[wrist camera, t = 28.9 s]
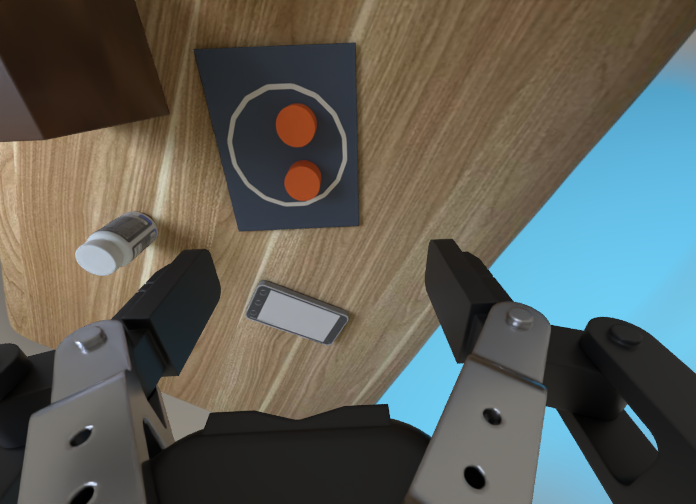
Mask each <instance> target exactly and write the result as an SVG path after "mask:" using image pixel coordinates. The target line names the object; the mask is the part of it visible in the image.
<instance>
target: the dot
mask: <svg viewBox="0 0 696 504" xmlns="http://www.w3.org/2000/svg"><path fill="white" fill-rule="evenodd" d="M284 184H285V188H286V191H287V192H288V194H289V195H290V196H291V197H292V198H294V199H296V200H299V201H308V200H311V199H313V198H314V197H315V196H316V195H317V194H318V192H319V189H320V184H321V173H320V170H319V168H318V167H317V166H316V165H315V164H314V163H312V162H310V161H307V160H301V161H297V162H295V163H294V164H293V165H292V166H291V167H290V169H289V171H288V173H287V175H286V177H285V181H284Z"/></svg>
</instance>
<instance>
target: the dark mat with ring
mask: <svg viewBox="0 0 696 504" xmlns="http://www.w3.org/2000/svg"><path fill="white" fill-rule="evenodd" d="M194 53H195V57H196V61H197V65H198V69H199V73H200V77H201V81H202V85H203V89H204V93H205V97H206V101H207V105H208V109H209V113H210V117H211V121H212V125H213V129H214V133H215V137H216V141H217V145H218V149H219V153H220V157H221V161H222V165H223V169H224V173H225V177H226V181H227V185H228V189H229V193H230V197H231V201H232V205H233V209H234V213H235V217H236V221H237V225H238V229H239V231H258V230H280V229H301V228H323V227H345V226H359V200H358V148H357V95H356V43H335V44H311V45H286V46H262V47H238V48H213V49H194ZM295 103H300V104H304V105H306V106H307V107H309V108H310V109H311V110H312V111H313V113H314V115H315V117H316V120H317V128H316V132H315V134H314V137H313V138H312V140H311V141H310V142H309V143H308V144H307V145H305V146H303V147H292V146H289V145H287V144H286V143H284V142H283V141H282V140H281V138H280V137H279V135H278V133H277V130H276V119H277V116H278V114H279V113H280V111H281V110H282V109H284V108H285V107H287V106H289V105H291V104H295ZM301 160H307V161H310V162H312V163H314V164H315V165H316V166H317V167H318V168H319V170H320V173H321V184H320V189H319V192H318V194H317V195H316V196H315V197H314V198H313V199H311V200H308V201H299V200H296V199H294V198H292V197H291V196H290V195H289V194H288V192H287V191H286V188H285V184H284V181H285V177H286V175H287V173H288V171H289V169H290V167H291V166H292V165H293V164H294V163H295V162H297V161H301Z"/></svg>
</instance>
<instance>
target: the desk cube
mask: <svg viewBox="0 0 696 504" xmlns="http://www.w3.org/2000/svg"><path fill="white" fill-rule="evenodd" d="M166 115H170V113H169V110H168V107H167V104H166V100H165V97H164V94H163V91H162V88H161V84H160V81H159V78H158V75H157V72H156V68H155V65H154V62H153V59H152V56H151V52H150V49H149V46H148V43H147V40H146V36H145V33H144V30H143V27H142V24H141V20H140V17H139V14H138V11H137V8H136V4H135V1H134V0H0V142H11V141H34V140H48V139H52V138H57V137H62V136H67V135H72V134H77V133H82V132H87V131H92V130H97V129H102V128H107V127H112V126H117V125H122V124H127V123H132V122H136V121H141V120H146V119H151V118H156V117H161V116H166Z"/></svg>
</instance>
